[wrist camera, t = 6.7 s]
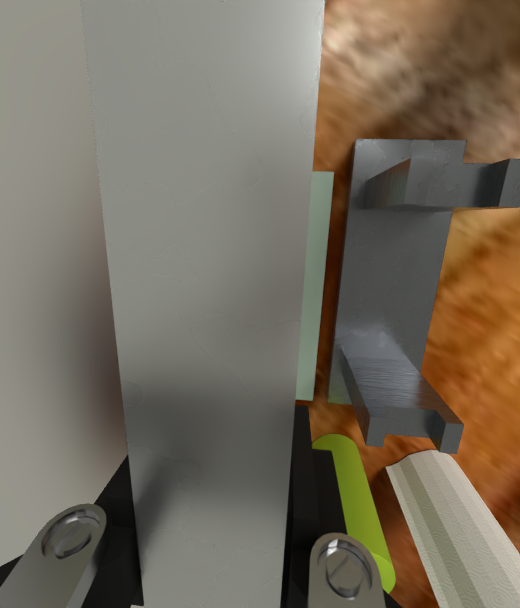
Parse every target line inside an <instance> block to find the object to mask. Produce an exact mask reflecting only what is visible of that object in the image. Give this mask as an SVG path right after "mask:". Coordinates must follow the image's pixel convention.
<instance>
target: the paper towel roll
mask: <svg viewBox="0 0 520 608" xmlns="http://www.w3.org/2000/svg"><path fill="white" fill-rule="evenodd" d="M386 470H387V473H388V475H389V478H390V480H391V483H392V485H393V488H394V491H395V493H396V496H397V498H398V501H399V503H400V506H401V509H402V511H403V514H404V516H405V519H406V522H407V524H408V527H409V529H410V532H411V534H412V537H413V540H414V542H415V545H416V547H417V550H418V552H419V555H420V558H421V560H422V563H423V565H424V568H425V571H426V573H427V576H428V578H429V581H430V583H431V586H432V589H433V591H434V594H435V596H436V599H437V601H438V604H439V607H440V608H520V554H519V552H518V551H517V549H516V548H515V547H514V545H513V544H512V542H511V541H510V539H509V538H508V536H507V535H506V534H505V532H504V531H503V529H502V528H501V526H500V525H499V523H498V522H497V520H496V519H495V518H494V516H493V515H492V513H491V512H490V510H489V509H488V507H487V506H486V504H485V503H484V502H483V500H482V499H481V497H480V496H479V494H478V493H477V491H476V490H475V489H474V487H473V486H472V484H471V483H470V481H469V480H468V478H467V477H466V475H465V474H464V473H463V471H462V470H461V468H460V467H459V465H458V464H457V462H456V461H455V460H454V459H453V458H452V457H451V456H450V455H449V454H446V453H440V452H439V451H438V450H426V451H422V452H418V453H415V454H411V455H408V456H407V457H405V458H404V459H402V460H401V461H400V462H398V463H396V464H394V465H392V466H387V467H386Z"/></svg>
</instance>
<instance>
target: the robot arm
mask: <svg viewBox="0 0 520 608" xmlns="http://www.w3.org/2000/svg"><path fill="white" fill-rule="evenodd" d="M131 605H138V606H144V597H143V588H142V578H141V569H140V560H139V550H138V541H137V531H136V522H135V512H134V503H133V493H132V484H131V475H130V465H129V456H128V455H127V456H126V458H125V459H124V461H123V462H122V464H121V465H120V467H119V468H118V470H117V471H116V473H115V474H114V476H113V477H112V478H111V480H110V481H109V483H108V484H107V486H106V487H105V488H104V490H103V491H102V493H101V494H100V496H99V497H98V499H97V500H96V502H95V503H94V504H80V505H76V506H74V507H71V508H68V509H66V510H64V511H63V512H61V513H59V514H57V515H56V516H55V517H54V518H52V519H51V520H50V521H49V522H47V524H46V525H45V526H44V527H43V529H41V531H40V532H39V533H38V535H37V536H36V537H35V539H34V540H33V542H32V543H31V545H30V546H29V547H28V549H27V550H26V552H25V553H24V554H23V555H21V556H19V557H17V558H16V559H14V560H12V561H10V562H8V563H6V564H4V565H2V566H1V567H0V608H130V607H131ZM280 608H402V607H401V606H400V605H399V604H398V603H397V602H396V601H395V600H394V599H393V598H392V597H391V596H390V595H389V594H388V593H387V592H386V591H385V590H384V589H383V588H382V582H381V576H380V573H379V569H378V566H377V563H376V561H375V560H374V558H373V556H372V555H371V553H370V552H369V550H368V549H367V548H366V547H365V546H364V545H363V544H362V543H361V542H359V541H358V540H356V539H355V538H353V537H351V536H349V535H348V533H347V528H346V523H345V517H344V512H343V507H342V501H341V496H340V491H339V485H338V480H337V475H336V469H335V464H334V459H333V454H332V451H331V450H322V449H312V441H311V431H310V422H309V412H308V406H302V405H295V411H294V425H293V438H292V452H291V465H290V479H289V492H288V506H287V519H286V533H285V546H284V560H283V573H282V587H281V600H280Z"/></svg>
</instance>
